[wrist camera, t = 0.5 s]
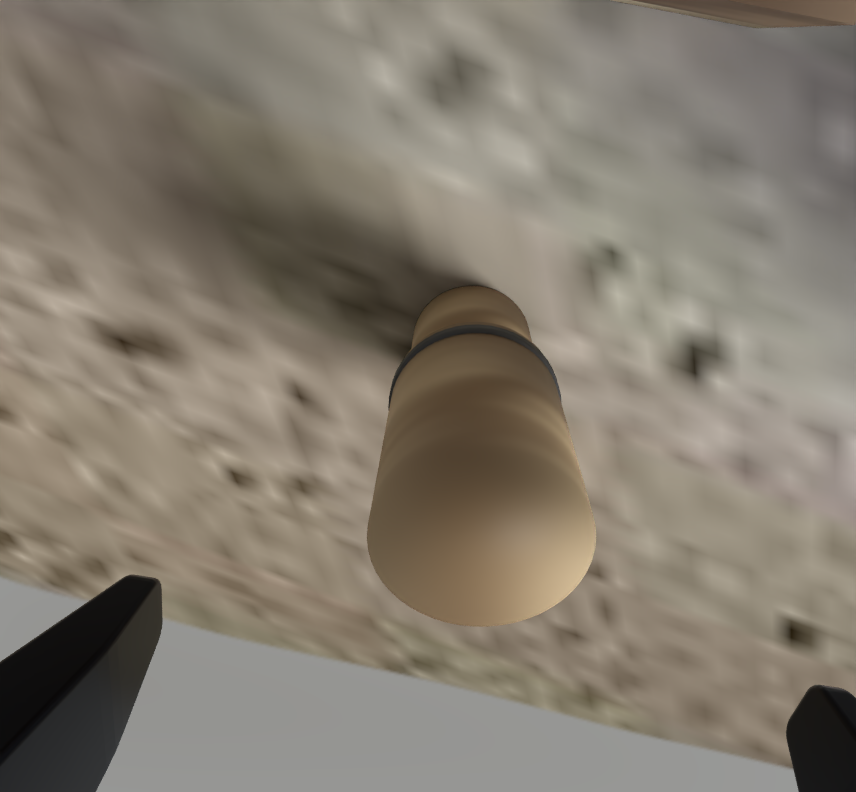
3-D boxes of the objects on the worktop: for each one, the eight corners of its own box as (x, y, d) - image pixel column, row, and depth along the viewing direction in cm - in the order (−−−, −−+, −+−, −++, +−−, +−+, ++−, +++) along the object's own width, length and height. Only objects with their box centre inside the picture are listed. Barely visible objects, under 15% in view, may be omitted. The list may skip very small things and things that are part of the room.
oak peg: (557, 287, 19) (629, 466, 11) (523, 413, 21) (564, 642, 13) (412, 262, 19) (380, 425, 11) (392, 391, 21) (351, 610, 13)
